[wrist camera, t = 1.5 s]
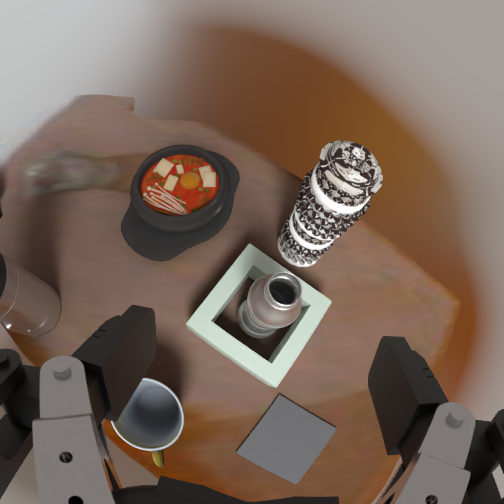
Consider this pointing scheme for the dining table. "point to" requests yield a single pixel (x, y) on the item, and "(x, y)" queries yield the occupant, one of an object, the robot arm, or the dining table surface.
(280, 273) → the plastic bottle
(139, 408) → the ceramic cup
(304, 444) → the rubber mat
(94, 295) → the dining table surface
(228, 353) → the holder block
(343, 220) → the black and white cylinder
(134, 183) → the casserole
